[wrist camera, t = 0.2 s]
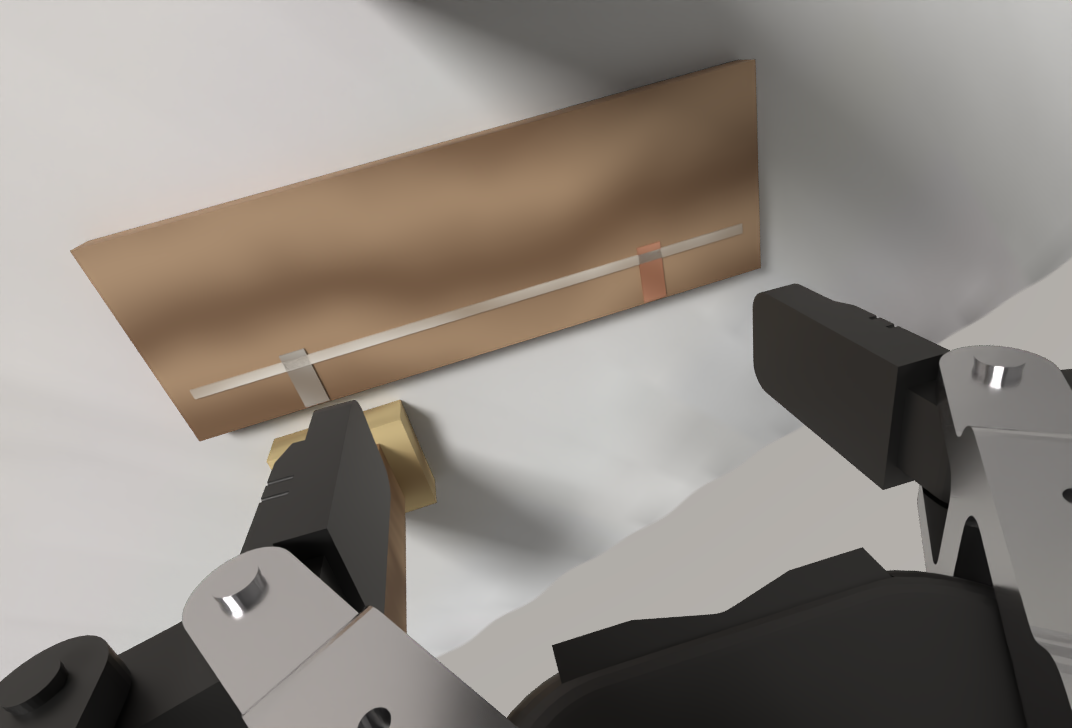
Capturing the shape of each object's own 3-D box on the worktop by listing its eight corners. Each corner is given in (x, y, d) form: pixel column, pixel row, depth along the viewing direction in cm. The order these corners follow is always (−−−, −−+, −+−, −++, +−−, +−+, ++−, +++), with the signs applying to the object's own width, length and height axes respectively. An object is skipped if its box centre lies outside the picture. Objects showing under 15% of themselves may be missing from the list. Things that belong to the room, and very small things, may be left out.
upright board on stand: (274, 439, 30) (188, 688, 18) (400, 399, 31) (400, 616, 18) (320, 517, 33) (274, 776, 21) (434, 480, 34) (453, 712, 21)
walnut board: (88, 240, 24) (68, 251, 22) (737, 59, 26) (756, 59, 25) (208, 424, 29) (198, 442, 27) (745, 259, 31) (761, 268, 30)
